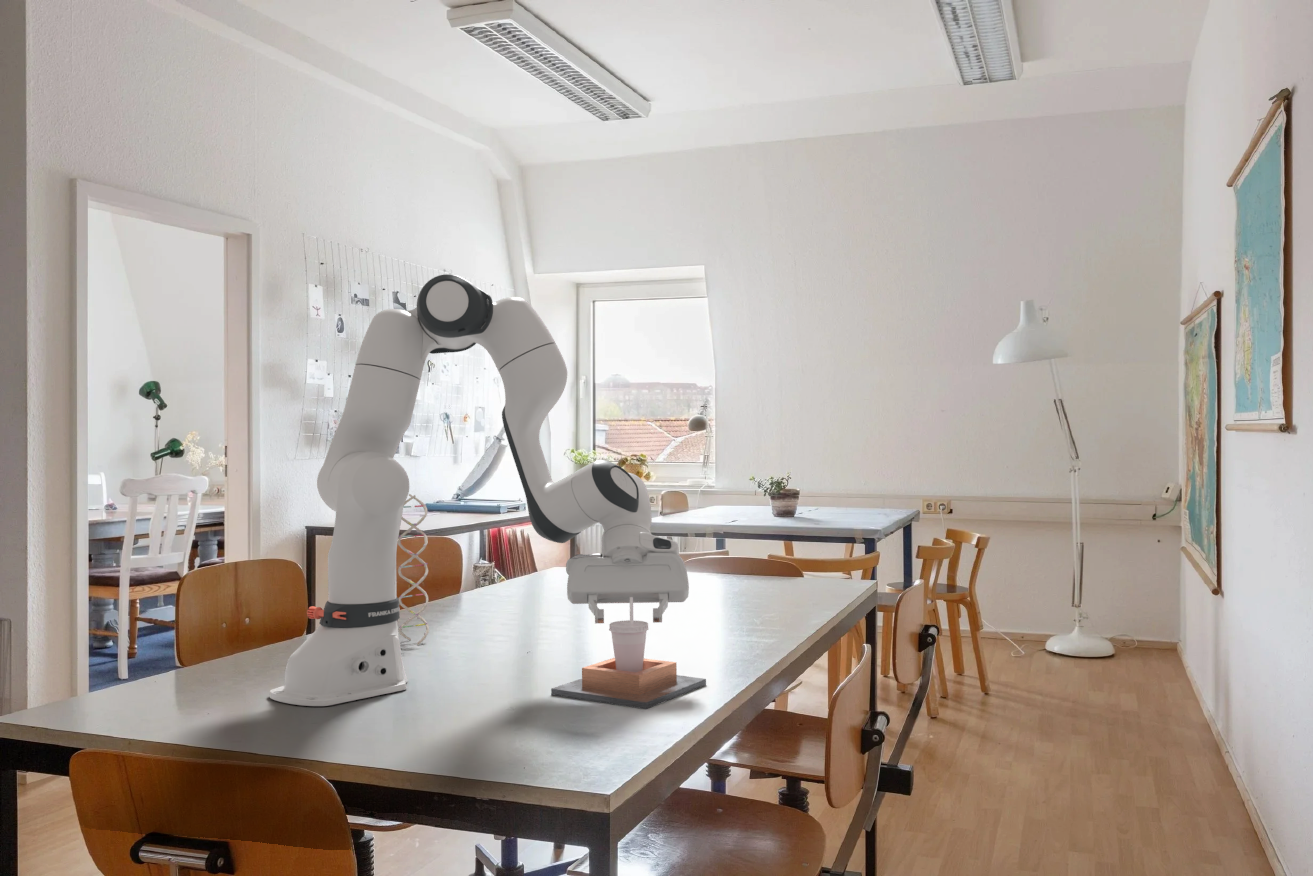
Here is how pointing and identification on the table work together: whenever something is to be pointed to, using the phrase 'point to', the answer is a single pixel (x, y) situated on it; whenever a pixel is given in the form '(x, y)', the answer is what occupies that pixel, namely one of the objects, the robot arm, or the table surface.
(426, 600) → the dna model
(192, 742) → the table surface
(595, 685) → the mount
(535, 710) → the table surface
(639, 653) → the smoothie
